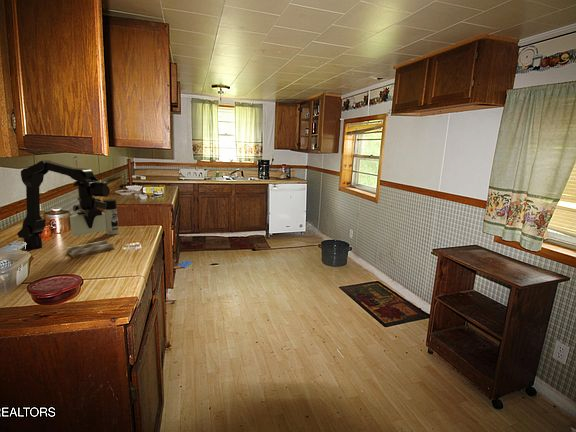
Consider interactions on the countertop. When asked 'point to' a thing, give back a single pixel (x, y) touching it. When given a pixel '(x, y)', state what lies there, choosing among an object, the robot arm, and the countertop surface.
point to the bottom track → (89, 249)
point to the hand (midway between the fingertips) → (88, 227)
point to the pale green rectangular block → (82, 228)
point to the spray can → (111, 217)
